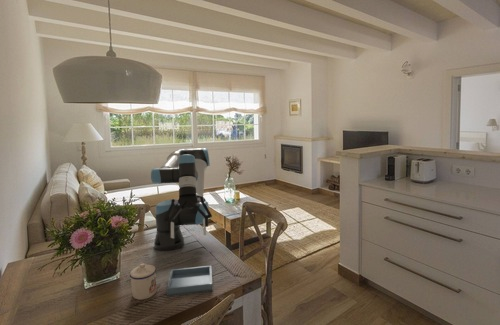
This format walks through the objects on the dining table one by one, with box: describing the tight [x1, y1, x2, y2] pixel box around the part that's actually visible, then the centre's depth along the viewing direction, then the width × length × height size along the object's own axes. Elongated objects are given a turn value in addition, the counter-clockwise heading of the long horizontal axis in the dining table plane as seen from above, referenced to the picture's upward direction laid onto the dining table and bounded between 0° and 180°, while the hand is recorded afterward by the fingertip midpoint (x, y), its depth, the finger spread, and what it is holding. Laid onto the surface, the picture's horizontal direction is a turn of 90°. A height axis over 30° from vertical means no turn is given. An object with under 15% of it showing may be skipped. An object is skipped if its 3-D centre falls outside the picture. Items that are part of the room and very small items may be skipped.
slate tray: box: [166, 265, 213, 297], centre depth 110 cm, size 14×17×3 cm
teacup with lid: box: [129, 262, 158, 301], centre depth 105 cm, size 12×9×12 cm
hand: (188, 236), depth 116 cm, fingers open, 13 cm apart
